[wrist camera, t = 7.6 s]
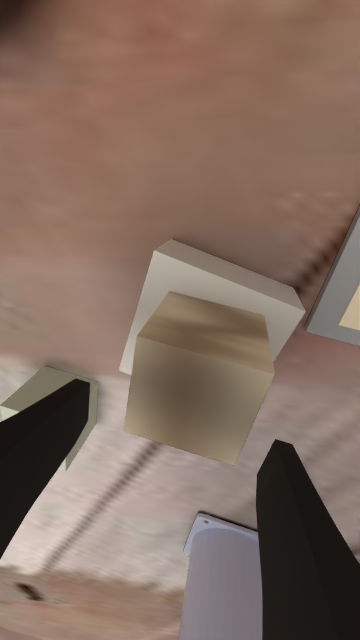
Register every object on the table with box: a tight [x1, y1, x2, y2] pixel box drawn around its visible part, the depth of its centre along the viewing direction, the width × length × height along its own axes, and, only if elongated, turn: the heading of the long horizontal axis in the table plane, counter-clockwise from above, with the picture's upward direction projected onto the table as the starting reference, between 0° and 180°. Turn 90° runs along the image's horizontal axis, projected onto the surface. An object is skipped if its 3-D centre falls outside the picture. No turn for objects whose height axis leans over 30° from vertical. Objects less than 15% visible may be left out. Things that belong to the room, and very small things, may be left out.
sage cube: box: [0, 366, 99, 472], centre depth 22 cm, size 5×5×5 cm
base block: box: [119, 239, 306, 375], centre depth 17 cm, size 8×8×4 cm
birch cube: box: [124, 291, 275, 466], centre depth 13 cm, size 5×5×5 cm
